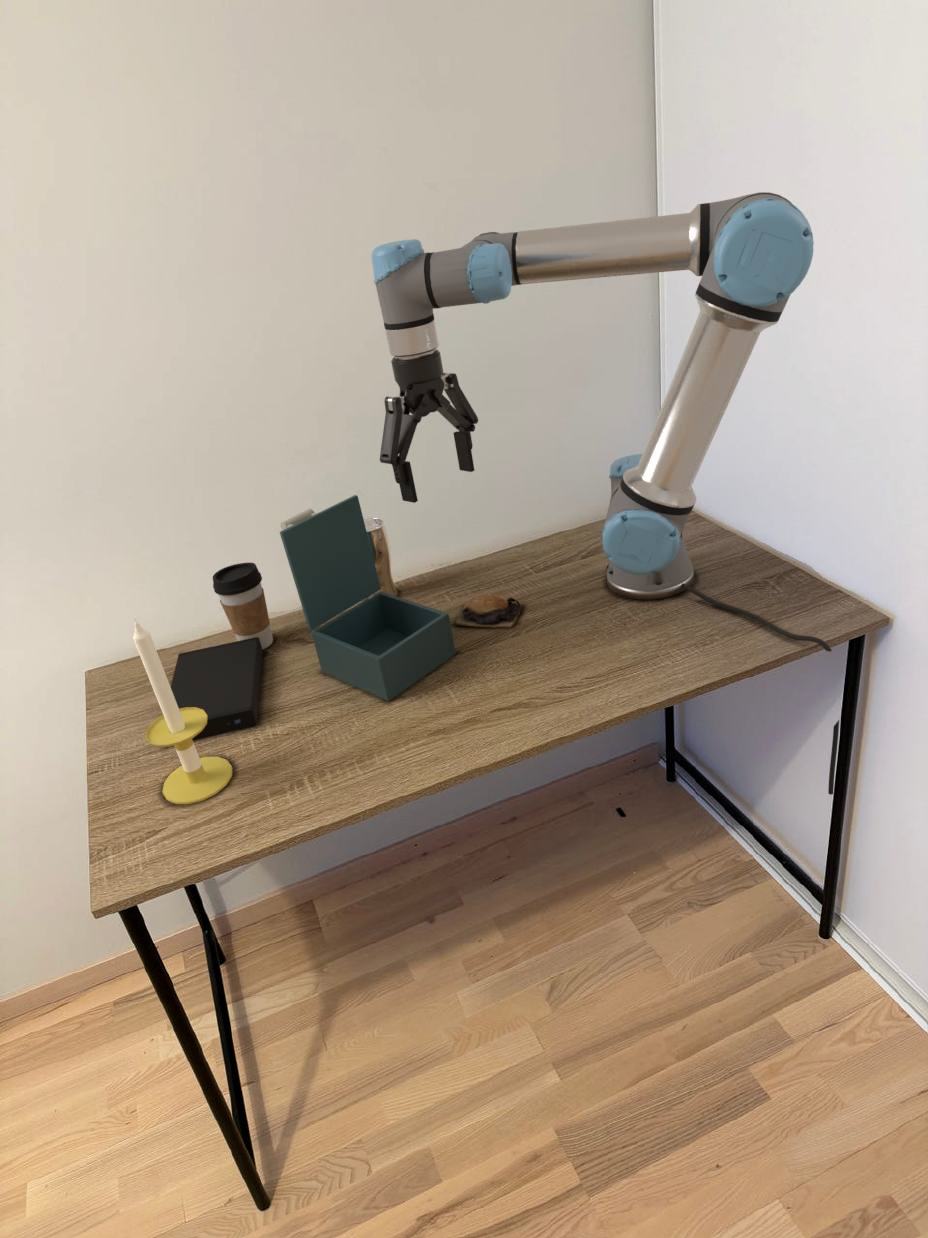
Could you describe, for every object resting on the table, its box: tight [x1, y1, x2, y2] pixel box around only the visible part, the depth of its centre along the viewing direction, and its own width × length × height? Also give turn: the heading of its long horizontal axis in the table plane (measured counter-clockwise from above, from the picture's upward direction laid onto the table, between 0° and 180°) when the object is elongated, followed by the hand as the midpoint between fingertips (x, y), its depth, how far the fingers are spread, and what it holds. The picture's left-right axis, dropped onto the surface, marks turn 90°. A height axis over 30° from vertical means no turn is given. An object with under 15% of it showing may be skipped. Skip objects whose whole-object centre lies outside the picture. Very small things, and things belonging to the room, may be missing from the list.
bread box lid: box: [279, 494, 381, 631], centre depth 140 cm, size 17×16×8 cm
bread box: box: [310, 591, 457, 702], centre depth 139 cm, size 17×16×8 cm
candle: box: [132, 617, 233, 805], centre depth 114 cm, size 10×10×27 cm
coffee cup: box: [212, 562, 274, 651], centre depth 149 cm, size 8×8×15 cm
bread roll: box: [455, 593, 523, 629], centre depth 148 cm, size 11×8×4 cm
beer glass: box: [363, 517, 398, 599], centre depth 159 cm, size 7×7×15 cm
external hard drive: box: [170, 637, 263, 741], centre depth 139 cm, size 14×23×3 cm, turn 10°
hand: (439, 485), depth 137 cm, fingers open, 13 cm apart
